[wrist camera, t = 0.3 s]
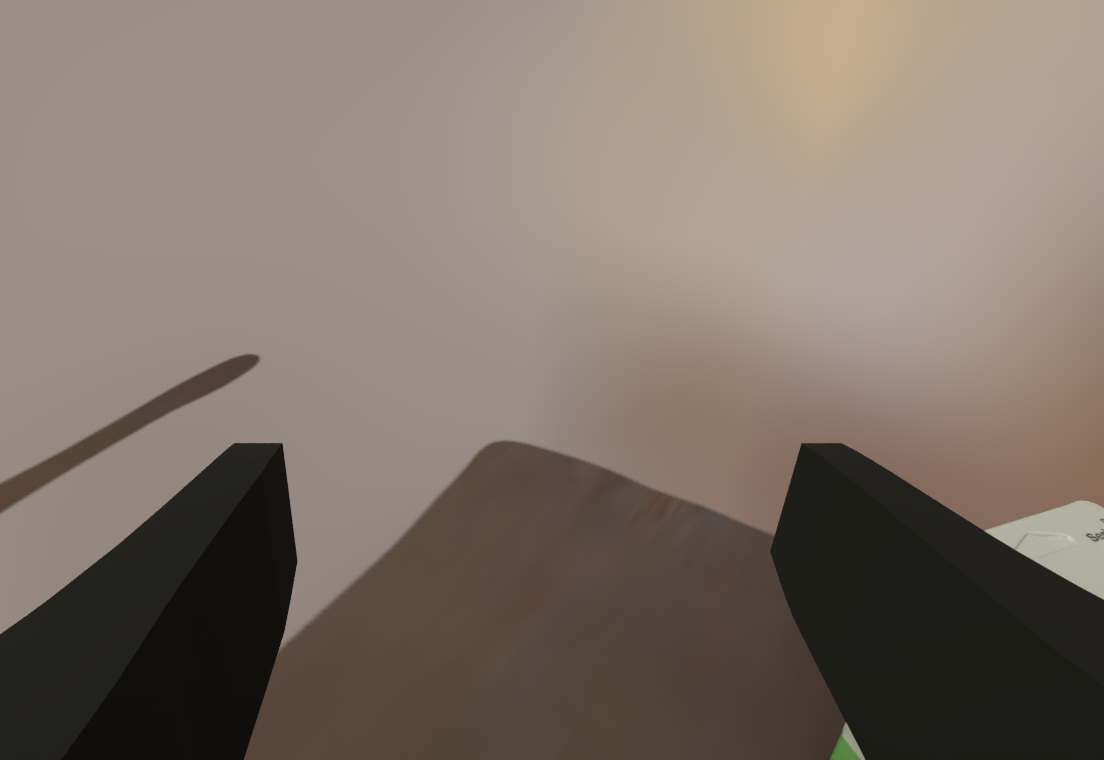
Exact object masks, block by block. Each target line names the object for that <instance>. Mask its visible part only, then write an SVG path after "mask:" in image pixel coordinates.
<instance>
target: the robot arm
mask: <svg viewBox="0 0 1104 760" xmlns="http://www.w3.org/2000/svg"><path fill="white" fill-rule="evenodd" d="M770 552H771V555H772V558H773V561H774V564H775V567H776V571H777V574H778V577H779V580H780V583H781V586H782V589H783V591H784V594H785V597H786V600H787V602H788V605H789V608H790V611H791V613H792V616H793V618H794V620H795V622H796V624H797V626H798V628H799V630H800V632H801V634H802V636H803V638H804V640H805V642H806V644H807V646H808V648H809V650H810V652H811V654H812V656H813V658H814V660H815V662H816V664H817V666H818V668H819V670H820V672H821V674H822V676H823V678H824V680H825V682H826V684H827V686H828V688H829V690H830V692H831V694H832V696H833V697H834V699H835V701H836V703H837V705H838V707H839V709H840V711H841V713H842V715H843V717H844V719H845V721H846V723H847V725H848V727H849V729H850V731H851V733H852V735H853V737H854V739H855V741H856V742H857V744H858V746H859V748H860V750H861V752H862V754H863V756H864V758H865V760H1104V599H1102V598H1100V597H1098V596H1096V595H1094V594H1092V593H1091V592H1089V591H1087V590H1085V589H1083V588H1081V587H1079V586H1078V585H1076V584H1074V583H1072V582H1070V581H1068V580H1067V579H1065V578H1063V577H1062V576H1060V575H1058V574H1056V573H1055V572H1053V571H1051V570H1049V569H1048V568H1046V567H1044V566H1042V565H1041V564H1039V563H1037V562H1035V561H1034V560H1032V559H1030V558H1028V557H1027V556H1025V555H1023V554H1022V553H1020V552H1018V551H1016V550H1015V549H1013V548H1011V547H1010V546H1008V545H1006V544H1005V543H1003V542H1002V541H1000V540H998V539H997V538H995V537H993V536H992V535H990V534H988V533H987V532H985V531H983V530H982V529H980V528H979V527H977V526H975V525H974V524H972V523H971V522H969V521H967V520H966V519H964V518H963V517H961V516H959V515H958V514H956V513H955V512H953V511H952V510H950V509H948V508H947V507H945V506H943V505H942V504H940V503H939V502H937V501H936V500H934V499H933V498H931V497H930V496H928V495H926V494H925V493H923V492H922V491H920V490H919V489H917V488H915V487H914V486H912V485H911V484H909V483H908V482H906V481H905V480H903V479H901V478H900V477H898V476H897V475H895V474H893V473H892V472H890V471H889V470H887V469H885V468H884V467H882V466H881V465H879V464H877V463H875V462H874V461H872V460H871V459H869V458H867V457H866V456H864V455H862V454H860V453H859V452H857V451H855V450H853V449H851V448H849V447H847V446H846V445H844V444H841V443H822V444H821V443H815V444H814V443H802V444H801V448H800V451H799V454H798V458H797V461H796V465H795V468H794V472H793V475H792V478H791V482H790V485H789V489H788V492H787V496H786V499H785V503H784V506H783V509H782V513H781V516H780V520H779V523H778V527H777V530H776V534H775V537H774V540H773V544H772V547H771V551H770ZM296 566H297V555H296V546H295V539H294V531H293V524H292V515H291V507H290V499H289V491H288V483H287V475H286V468H285V460H284V452H283V444H282V443H234V444H233V445H231V446H230V447H229V448H228V449H227V450H226V451H224V452H223V453H222V454H221V455H220V456H219V457H218V458H217V459H215V460H214V461H213V462H212V463H211V464H210V465H209V466H207V467H206V468H205V469H204V470H203V471H202V472H201V473H200V474H198V476H196V477H195V478H194V479H193V480H192V481H191V482H190V483H188V484H187V485H186V486H185V487H184V488H183V489H182V490H181V491H180V492H178V493H177V494H176V495H175V496H174V497H173V498H172V499H171V500H169V501H168V502H167V503H166V504H165V505H164V506H163V507H162V508H161V509H159V510H158V511H157V512H156V513H155V514H154V515H152V516H151V517H150V518H149V519H148V520H147V521H145V522H144V523H143V524H142V525H141V526H140V527H138V528H137V529H136V530H135V531H134V532H133V533H131V534H130V535H129V536H128V537H127V538H126V539H124V540H123V541H122V542H121V543H120V544H119V545H117V546H116V547H115V548H113V549H112V550H111V551H110V552H108V553H107V554H106V555H105V556H103V557H102V558H101V559H99V560H98V561H97V562H96V563H94V564H93V565H92V566H91V567H89V568H88V569H87V570H86V571H84V572H83V573H82V574H81V575H79V576H78V577H77V578H75V579H74V580H73V581H72V582H70V583H69V584H68V585H67V586H65V587H64V588H63V589H61V590H60V591H59V592H58V593H56V594H55V595H54V596H52V597H51V598H50V599H49V600H47V601H46V602H45V603H43V604H42V605H41V606H39V607H38V608H37V609H35V610H34V611H32V612H31V613H30V614H28V615H27V616H26V617H24V618H23V619H21V620H20V621H18V622H17V623H16V624H14V625H13V626H11V627H10V628H9V629H7V630H6V631H4V632H3V633H1V634H0V760H244V757H245V754H246V751H247V748H248V744H249V741H250V738H251V735H252V732H253V729H254V726H255V723H256V720H257V716H258V713H259V710H260V707H261V704H262V701H263V698H264V695H265V691H266V688H267V685H268V682H269V679H270V676H271V672H272V669H273V666H274V663H275V660H276V657H277V653H278V650H279V647H280V644H281V640H282V637H283V634H284V631H285V625H286V620H287V615H288V610H289V605H290V600H291V594H292V588H293V583H294V577H295V571H296Z"/></svg>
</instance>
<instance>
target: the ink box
mask: <svg viewBox="0 0 1104 760" xmlns="http://www.w3.org/2000/svg"><path fill="white" fill-rule="evenodd" d="M984 531H985V532H987V533H988V534H990V535H992V536H993V537H995V538H997V539H998V540H1000V541H1002V542H1003V543H1005V544H1006V545H1008V546H1010V547H1011V548H1013V549H1015V550H1016V551H1018V552H1020V553H1022V554H1023V555H1025V556H1027V557H1028V558H1030V559H1032V560H1034V561H1035V562H1037V563H1039V564H1041V565H1042V566H1044V567H1046V568H1048V569H1049V570H1051V571H1053V572H1055V573H1056V574H1058V575H1060V576H1062V577H1063V578H1065V579H1067V580H1068V581H1070V582H1072V583H1074V584H1076V585H1078V586H1079V587H1081V588H1083V589H1085V590H1087V591H1089V592H1091V593H1092V594H1094V595H1096V596H1098V597H1100V598H1102V599H1104V508H1103V507H1101V506H1099V505H1097V504H1094V503H1092V502H1088V501H1075V502H1073V503H1071V504H1068V505H1065V506H1062V507H1059V508H1055V509H1052V510H1049V511H1045V512H1043V513H1039V514H1035V515H1032V516H1029V517H1026V518H1022V519H1019V520H1016V521H1013V522H1009V523H1006V524H1003V525H999V526H996V527H993V528H990V529H987V530H984ZM830 760H865V758H864V756H863V754H862V752H861V750H860V748H859V746H858V744H857V742H856V741H855V739H854V737H853V735H852V733H851V731H850V729H849V727H848V725H847V723H845V725H844V727H843V730H842V732H841V735H840V737H839V739H838V741H837V744H836V746H835V748H834V751H833V753H832V755H831V757H830Z"/></svg>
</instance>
